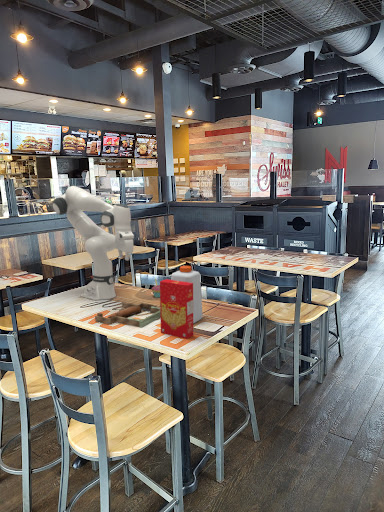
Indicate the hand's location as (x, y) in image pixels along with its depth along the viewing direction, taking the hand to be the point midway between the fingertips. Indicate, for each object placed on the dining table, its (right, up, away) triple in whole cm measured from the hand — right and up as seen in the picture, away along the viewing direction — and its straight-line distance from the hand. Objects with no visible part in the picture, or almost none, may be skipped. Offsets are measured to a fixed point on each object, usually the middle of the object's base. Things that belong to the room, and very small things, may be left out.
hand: (124, 258), depth 213 cm
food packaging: (+31, -35, -33) cm, 57 cm away
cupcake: (+16, -24, +30) cm, 42 cm away
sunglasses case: (+1, -31, -6) cm, 32 cm away
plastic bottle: (+34, -32, -13) cm, 48 cm away
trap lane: (+6, -31, -9) cm, 32 cm away
